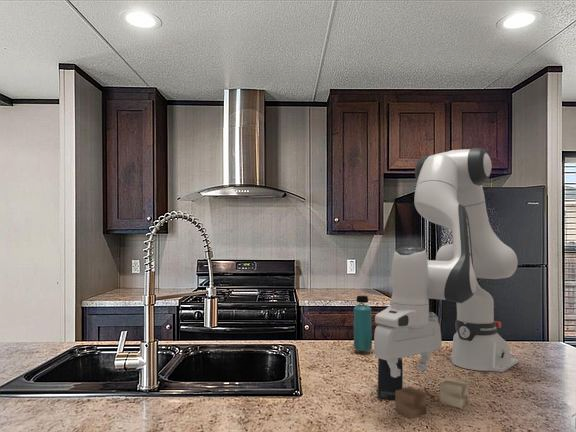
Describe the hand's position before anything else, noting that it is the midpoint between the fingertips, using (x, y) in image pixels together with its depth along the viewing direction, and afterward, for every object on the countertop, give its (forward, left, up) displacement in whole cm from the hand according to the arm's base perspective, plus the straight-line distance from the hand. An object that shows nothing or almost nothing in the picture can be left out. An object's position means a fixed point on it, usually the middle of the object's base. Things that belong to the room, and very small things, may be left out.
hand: (409, 373), depth 109 cm
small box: (-7, -12, -10) cm, 17 cm away
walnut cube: (-1, 0, -9) cm, 9 cm away
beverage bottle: (-29, -45, -9) cm, 54 cm away
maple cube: (-15, +2, -9) cm, 17 cm away
